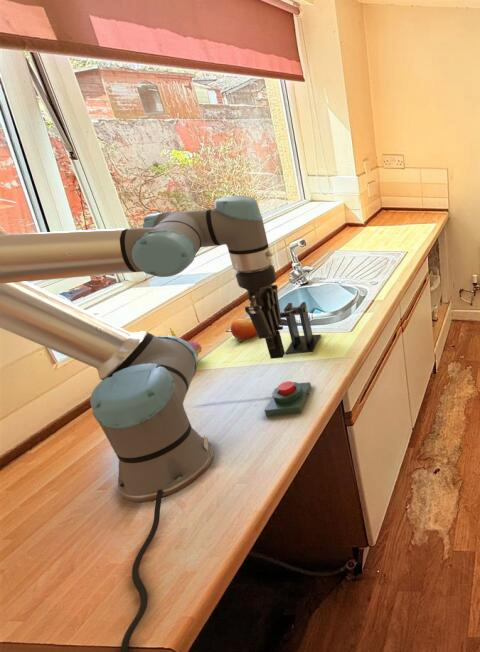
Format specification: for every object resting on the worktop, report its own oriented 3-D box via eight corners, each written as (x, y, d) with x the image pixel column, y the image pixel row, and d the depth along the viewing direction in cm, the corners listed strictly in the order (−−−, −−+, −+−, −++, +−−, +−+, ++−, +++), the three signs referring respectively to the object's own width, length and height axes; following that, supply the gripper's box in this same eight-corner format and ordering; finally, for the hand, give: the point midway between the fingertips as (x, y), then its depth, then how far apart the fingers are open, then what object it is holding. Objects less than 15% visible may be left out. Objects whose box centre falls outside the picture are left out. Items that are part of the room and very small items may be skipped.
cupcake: (163, 369, 117) (148, 333, 112) (192, 354, 124) (180, 320, 119) (183, 375, 114) (169, 339, 109) (212, 359, 121) (200, 325, 116)
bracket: (313, 353, 125) (304, 312, 119) (285, 356, 124) (275, 313, 118) (321, 337, 134) (312, 297, 128) (295, 339, 133) (286, 299, 127)
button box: (301, 413, 101) (297, 401, 99) (266, 417, 99) (262, 404, 98) (311, 388, 110) (308, 376, 108) (280, 391, 108) (276, 379, 107)
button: (292, 394, 102) (291, 389, 101) (277, 396, 101) (275, 390, 100) (296, 385, 105) (295, 380, 104) (282, 387, 104) (280, 381, 104)
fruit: (221, 338, 130) (228, 314, 130) (245, 339, 137) (252, 317, 137) (235, 344, 126) (243, 320, 127) (259, 345, 134) (267, 322, 134)
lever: (289, 319, 111) (289, 310, 111) (270, 320, 111) (269, 311, 110) (306, 313, 125) (305, 305, 125) (289, 314, 125) (288, 307, 124)
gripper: (261, 277, 84) (285, 370, 93) (282, 256, 96) (302, 340, 105) (221, 279, 82) (250, 373, 92) (247, 258, 94) (271, 343, 104)
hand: (277, 356), depth 99 cm, fingers closed
